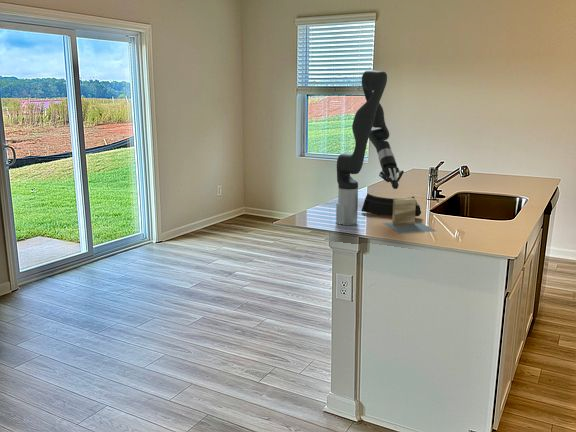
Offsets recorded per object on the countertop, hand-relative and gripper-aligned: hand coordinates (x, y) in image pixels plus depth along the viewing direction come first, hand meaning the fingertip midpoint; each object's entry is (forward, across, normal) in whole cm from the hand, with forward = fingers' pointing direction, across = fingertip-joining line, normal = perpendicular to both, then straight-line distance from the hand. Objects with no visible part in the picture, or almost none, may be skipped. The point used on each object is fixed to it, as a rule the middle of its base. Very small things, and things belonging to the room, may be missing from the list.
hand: (396, 187), depth 247 cm
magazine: (+5, +1, +18) cm, 19 cm away
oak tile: (+18, 0, +4) cm, 19 cm away
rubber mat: (+22, 0, 0) cm, 22 cm away
